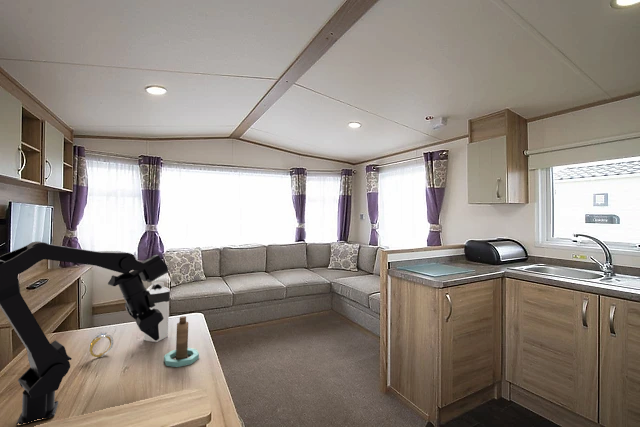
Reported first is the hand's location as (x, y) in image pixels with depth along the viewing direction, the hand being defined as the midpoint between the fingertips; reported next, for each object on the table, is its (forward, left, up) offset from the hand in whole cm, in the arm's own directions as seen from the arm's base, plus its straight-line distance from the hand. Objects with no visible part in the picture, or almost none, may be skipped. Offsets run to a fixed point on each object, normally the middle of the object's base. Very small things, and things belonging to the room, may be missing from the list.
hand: (152, 333), depth 95 cm
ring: (+18, +14, -11) cm, 25 cm away
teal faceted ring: (+3, -9, -11) cm, 14 cm away
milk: (+26, -3, -11) cm, 28 cm away
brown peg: (+3, -9, -11) cm, 14 cm away
